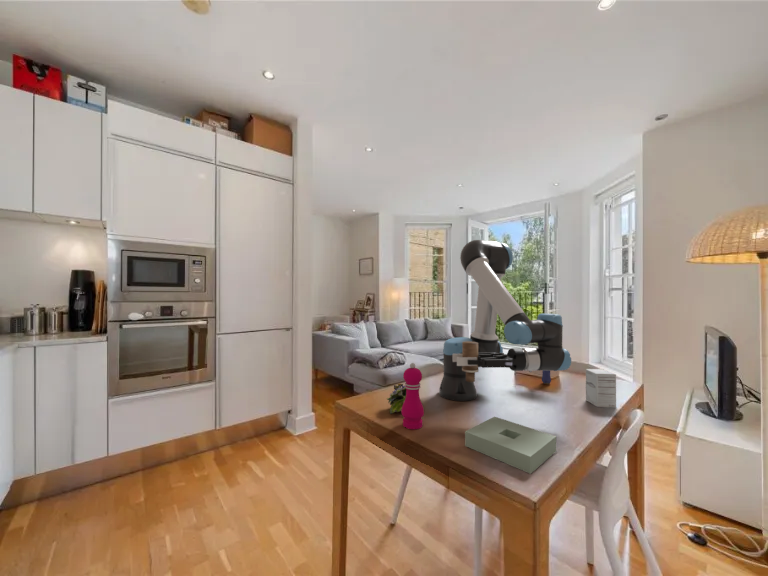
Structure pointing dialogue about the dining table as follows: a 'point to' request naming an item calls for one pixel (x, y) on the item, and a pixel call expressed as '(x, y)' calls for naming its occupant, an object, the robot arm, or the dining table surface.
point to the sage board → (511, 443)
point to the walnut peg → (470, 351)
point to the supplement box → (601, 387)
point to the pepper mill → (412, 399)
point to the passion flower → (397, 398)
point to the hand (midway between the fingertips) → (455, 359)
